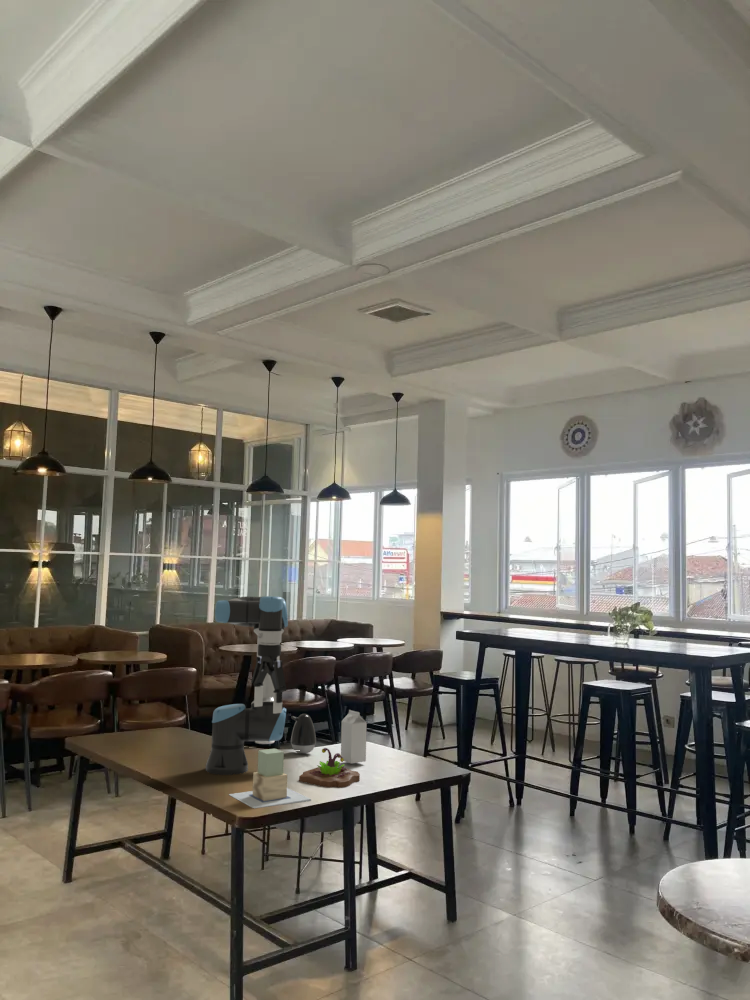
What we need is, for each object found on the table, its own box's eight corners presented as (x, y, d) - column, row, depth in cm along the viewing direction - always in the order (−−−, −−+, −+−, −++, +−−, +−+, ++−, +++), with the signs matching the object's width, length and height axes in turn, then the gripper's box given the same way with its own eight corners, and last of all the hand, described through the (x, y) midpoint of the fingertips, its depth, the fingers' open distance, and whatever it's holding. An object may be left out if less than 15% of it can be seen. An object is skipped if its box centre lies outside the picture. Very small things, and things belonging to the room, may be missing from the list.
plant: (318, 771, 298) (319, 740, 299) (366, 778, 289) (367, 746, 291) (291, 783, 279) (291, 750, 281) (341, 790, 271) (342, 756, 272)
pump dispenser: (289, 749, 333) (290, 711, 335) (314, 749, 334) (315, 711, 336) (290, 754, 323) (291, 716, 325) (316, 754, 324) (317, 715, 326)
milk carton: (355, 758, 319) (356, 709, 321) (365, 761, 313) (366, 711, 315) (340, 760, 315) (341, 710, 317) (350, 764, 309) (351, 713, 311)
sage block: (257, 772, 259) (258, 750, 259) (274, 770, 262) (275, 748, 263) (266, 776, 254) (266, 753, 255) (283, 774, 257) (283, 751, 258)
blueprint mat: (228, 797, 259) (228, 793, 259) (284, 789, 270) (284, 786, 270) (253, 811, 244) (253, 807, 244) (310, 802, 255) (311, 798, 255)
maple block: (252, 795, 258) (253, 772, 259) (274, 791, 263) (275, 769, 264) (263, 800, 252) (264, 777, 252) (286, 797, 256) (287, 774, 257)
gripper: (242, 640, 273) (240, 704, 271) (277, 647, 252) (275, 716, 251) (262, 640, 277) (260, 703, 275) (298, 646, 257) (296, 714, 255)
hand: (267, 709), depth 263 cm, fingers open, 13 cm apart
